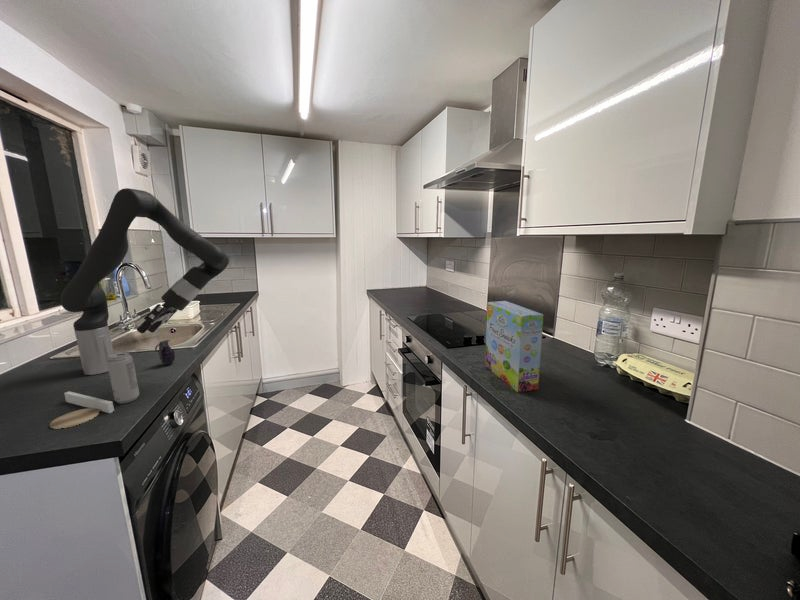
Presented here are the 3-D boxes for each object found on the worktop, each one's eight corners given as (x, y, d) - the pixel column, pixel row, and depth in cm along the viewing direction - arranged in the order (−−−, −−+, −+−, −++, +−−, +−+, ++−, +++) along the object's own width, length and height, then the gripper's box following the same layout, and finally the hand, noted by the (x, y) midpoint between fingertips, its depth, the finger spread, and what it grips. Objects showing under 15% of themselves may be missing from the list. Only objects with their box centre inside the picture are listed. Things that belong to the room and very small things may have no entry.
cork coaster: (41, 425, 88) (41, 423, 88) (86, 406, 97) (86, 405, 97) (63, 432, 84) (63, 430, 84) (107, 412, 94) (107, 411, 93)
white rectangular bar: (66, 401, 100) (64, 393, 99) (71, 400, 101) (69, 391, 101) (109, 413, 93) (107, 403, 93) (114, 411, 94) (112, 401, 94)
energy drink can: (120, 397, 103) (111, 352, 100) (142, 393, 105) (134, 350, 102) (111, 406, 97) (101, 359, 94) (135, 402, 99) (126, 356, 96)
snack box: (482, 367, 122) (485, 301, 117) (502, 364, 124) (506, 300, 119) (516, 393, 101) (521, 315, 96) (540, 390, 104) (546, 313, 99)
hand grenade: (166, 368, 125) (162, 343, 123) (156, 367, 126) (152, 343, 124) (179, 362, 131) (175, 339, 129) (169, 361, 132) (165, 338, 130)
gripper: (177, 289, 116) (142, 324, 112) (164, 284, 103) (124, 324, 98) (196, 301, 118) (162, 337, 113) (185, 299, 105) (146, 339, 100)
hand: (144, 331), depth 106 cm, fingers open, 8 cm apart
